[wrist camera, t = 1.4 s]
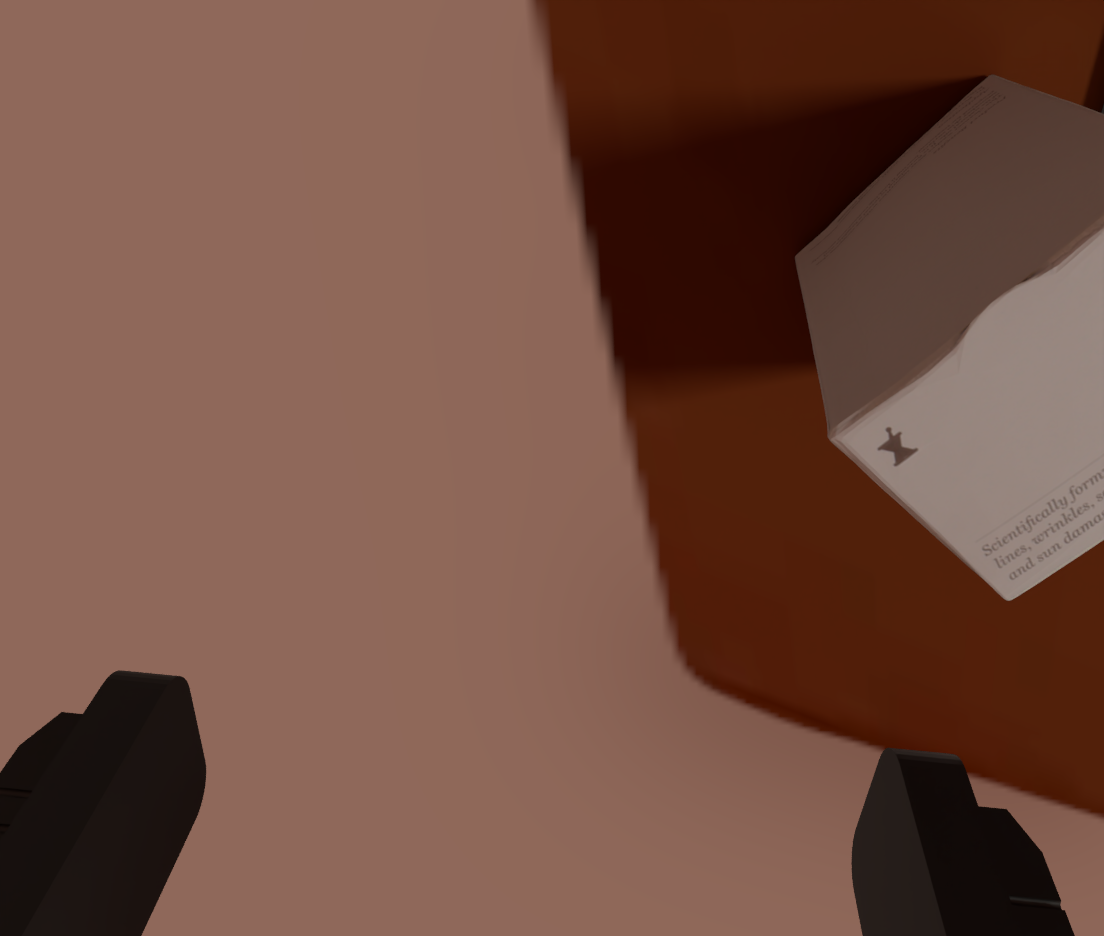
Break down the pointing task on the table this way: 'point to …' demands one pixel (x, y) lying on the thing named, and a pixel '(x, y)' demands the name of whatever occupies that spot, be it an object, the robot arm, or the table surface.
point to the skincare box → (975, 331)
